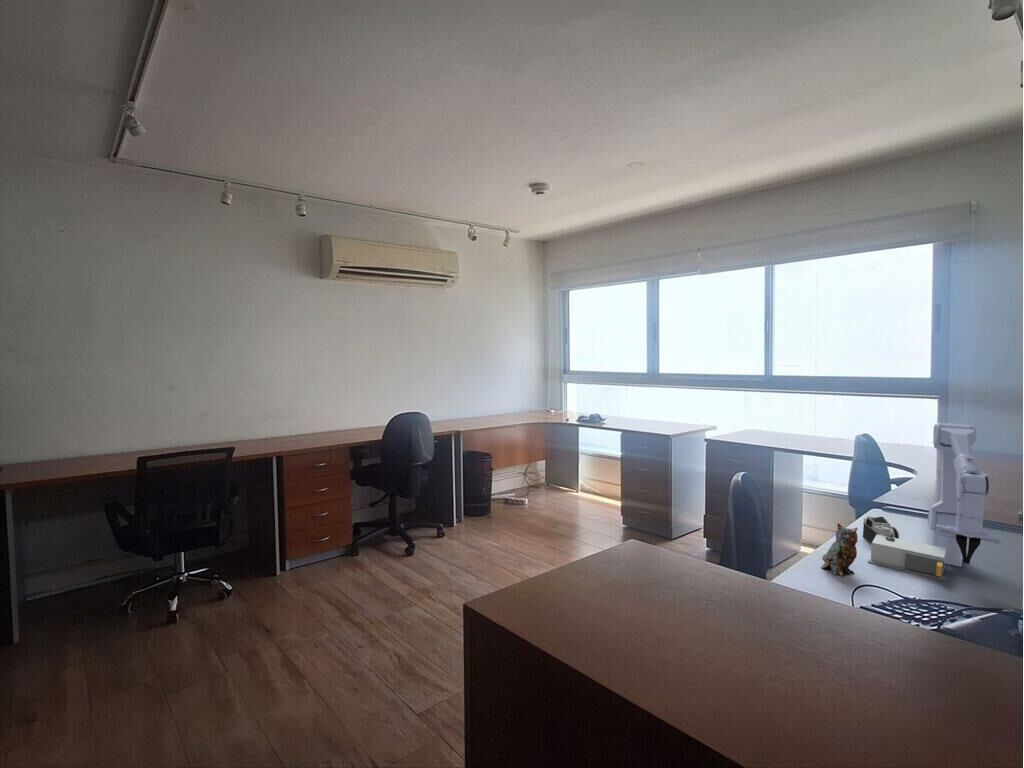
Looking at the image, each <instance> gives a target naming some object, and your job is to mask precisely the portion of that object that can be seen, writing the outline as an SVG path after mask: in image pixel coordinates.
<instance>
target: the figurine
mask: <svg viewBox="0 0 1024 768" xmlns="http://www.w3.org/2000/svg"><path fill="white" fill-rule="evenodd" d="M857 531H858V527H853V528H848V527H844V526H843V525H842V524H840V523H839V522H838V523H837V528H836V530H835V541H834V542H832V544H831V545H830V547H829V548H828V550H827V552H826V553H825V554H824V555H822V557H821V558H822V561H823V562H824V564H822V565H821V566H820V569H822V570H826V571H829V572H830V571H831V572H833V575H834V576H839V577H841V578H842V577H845V576H846V577H847V576H850V575H854V574H855V571H853V570H851V569H850V566H851V565H853V563H854V562H855V559H856V558H857V554H858V551H857V547H856V545H857V543H858V532H857Z"/></svg>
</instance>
